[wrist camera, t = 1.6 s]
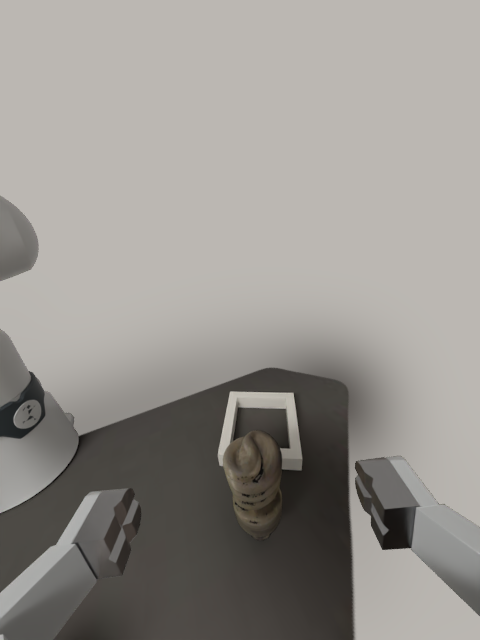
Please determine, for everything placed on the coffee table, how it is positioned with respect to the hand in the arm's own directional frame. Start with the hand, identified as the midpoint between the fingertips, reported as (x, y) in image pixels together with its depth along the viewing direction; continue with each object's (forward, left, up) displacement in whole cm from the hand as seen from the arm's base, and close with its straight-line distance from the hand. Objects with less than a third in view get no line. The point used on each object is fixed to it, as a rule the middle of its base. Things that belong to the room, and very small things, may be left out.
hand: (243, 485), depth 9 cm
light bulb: (-1, +10, -26) cm, 28 cm away
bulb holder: (-1, +24, -26) cm, 35 cm away
